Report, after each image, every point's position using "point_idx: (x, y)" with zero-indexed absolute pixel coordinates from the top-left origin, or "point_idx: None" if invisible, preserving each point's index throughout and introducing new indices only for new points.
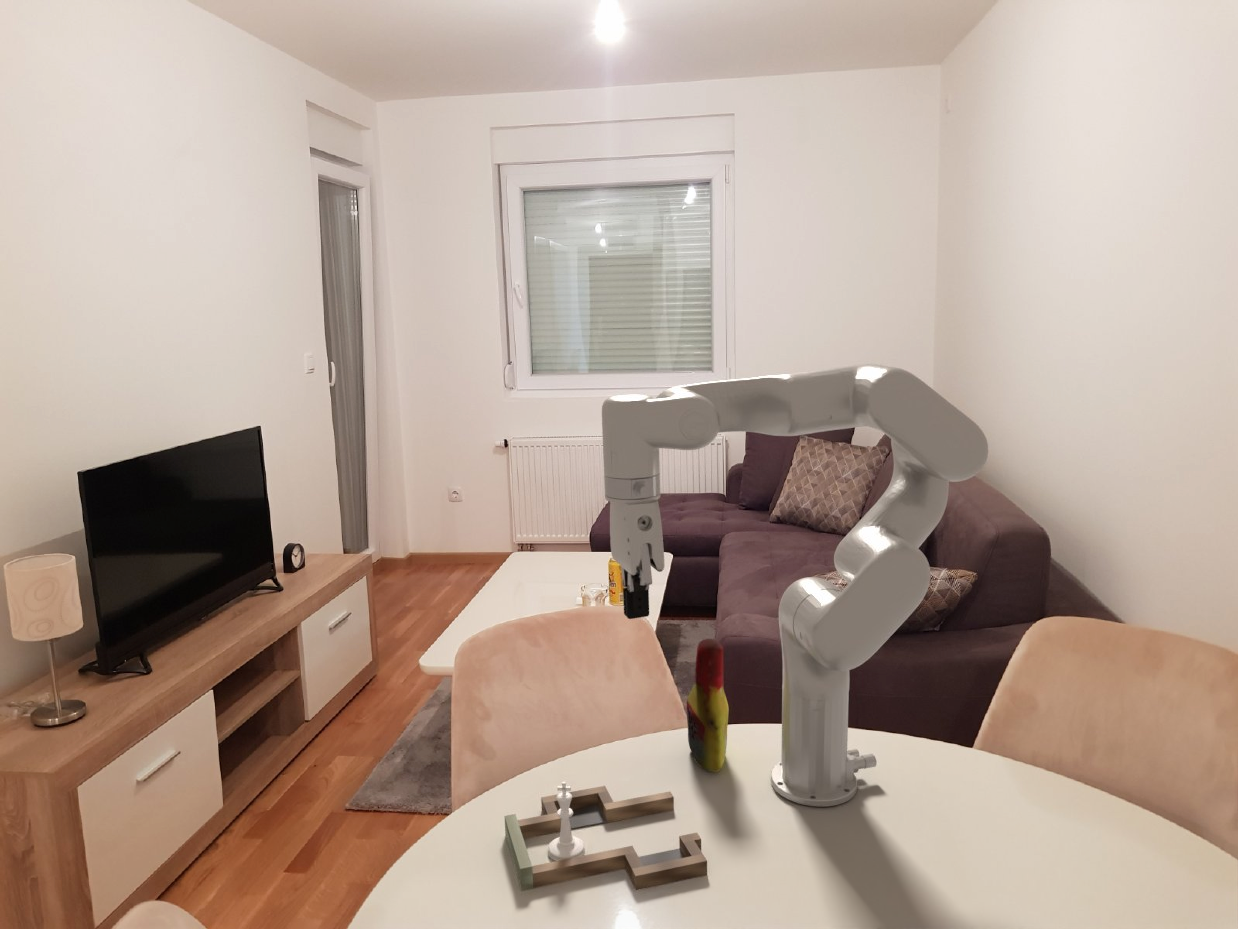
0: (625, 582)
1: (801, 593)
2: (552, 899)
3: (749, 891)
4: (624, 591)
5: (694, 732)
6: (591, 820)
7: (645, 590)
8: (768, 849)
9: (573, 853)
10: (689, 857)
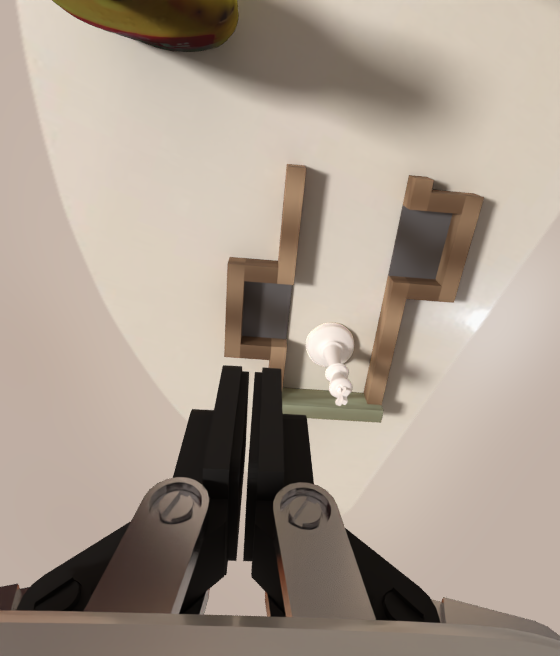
0: (205, 603)
1: None
2: (405, 381)
3: (538, 152)
4: (227, 561)
5: (175, 47)
6: (281, 296)
7: (281, 480)
8: (479, 61)
9: (351, 345)
10: (462, 218)
